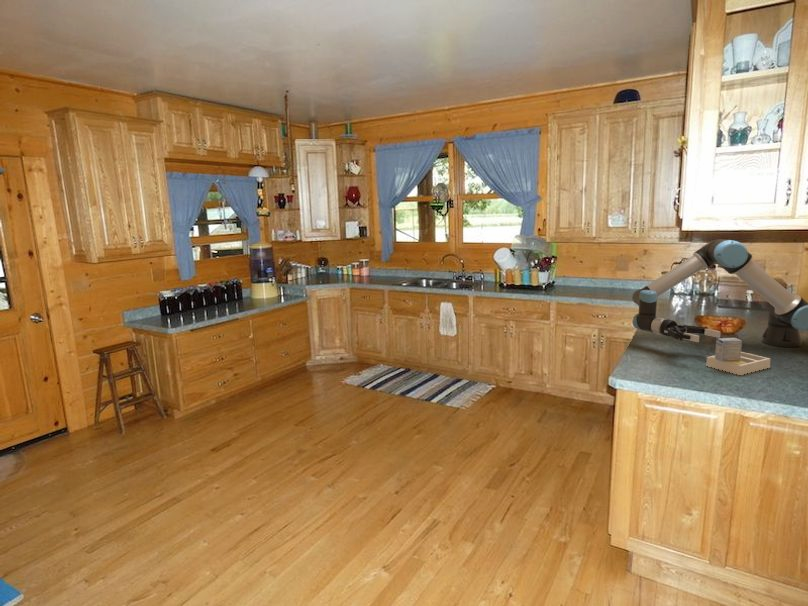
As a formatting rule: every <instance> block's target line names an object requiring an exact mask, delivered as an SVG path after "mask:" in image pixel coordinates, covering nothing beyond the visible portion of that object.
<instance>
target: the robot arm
mask: <svg viewBox="0 0 808 606" xmlns="http://www.w3.org/2000/svg"><path fill="white" fill-rule="evenodd" d="M715 265H718V266H720V267H721V268H722V269H723V270H725V272H727V273H728V274H730V275H736V276H737V277H738V278H739V279H740V280H742V282H744V283H745V284H746V285H747V286H749V287H750V288H751V289H752V290H753V291H755V292H756V293H757V294H758V295H759V296H761V298H763V299H764V300H765V301H766V302H767V303H769V306H768V307H769V310H768V319H767V320H768V321H767V327H766V328H765V330H764V332H763V334H762V336H761V342H762V343H764V344H766V345H770V346H776V347H781V348H782V347H783V348H798V347H801V346H802V338H801V334H800V331H804V332H805V331H806V332H807V331H808V301H807V300H805V299H804V298H803V297H802V296H800V295H799V294H793V293H791V292H790V291H789V290H787V288H785V287H784V286H783V285H782V284H780V282H778V281H777V280H776V279H775V278H774V277H772V276H771V275H770V274H769V273H767V272H766V270H764V269H763V268H762V267H760V266H759V265H758V264H757V263H756V262H755V261H754V260H753V255H752V254H751V252H749V250H748V248H747V247H746V246H745V245H744V244H743V243H741V242H740V241H737V240H731V239H724V238H718V239H714V240H711V241H710V242H708V243H707V244H704V245H703V246H702V247H700V248H699V249H698V250H696V251H694V252H693V254H692V256H691V257H689V258H687V259H685V261H683V262H681V263H680V264H678V265H676V266H675V267H673V268H672V269H670V270H669V271H667V272H666V273H664V274H663V275H661V276H660V277H658V278H656V279H655V280H654V281H651V282H650V283H648V284H647V285H645V286H644V287H641V288H637V289H635V290H634V291H632V294H631V299H632V301H633V302H634V304H635V305H637V306H638V313H636V314H635V315H634V316H633V319H632V325H633V327H634V328H635V329H637V330H641V331H645V332H650V333H654V334H657V336H660V335H662V336H667V337H671V338H673V339H674V340H679V341H680V342H681V341H683V340H685V341H686V340H687V341H691V342H694V343H700V335H697V334H701V335H705V336H709V337H712V338H713V337H714V338H716V339H720V338H721V332H722V331H719V330H715V329H710V328H709V327H708V326H697V325H688V324H683V325H682V324H678V323H677V322H676V321H675V320H671V319H667V318H662V317H658V316H657V305H658V304H657V302H658V298H659V297H660V296H661V295H663V294H665V293H666V292H668V291H669V290H671V289H672V288H674V287H676V286H677V285H679V284H681V283H682V282H683V281H685V280H688V279H689V278H691V277H692V276H694V275H695V274H697V273H698V272H700V271H701V270H703V269H708V268H710V267H713V266H715ZM797 346H798V347H797Z"/></svg>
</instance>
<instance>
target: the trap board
mask: <svg viewBox="0 0 808 606" xmlns="http://www.w3.org/2000/svg"><path fill="white" fill-rule="evenodd" d="M705 366H706V367H707V366H708V368H711V367H712V368H711V369H714V368H715V370H718V369H719V370H718V371H722V370H723V371H722V372H725V371H726V372H725V373H729V372H730V373H729V374H732V373H733V374H732V375H736V374H737V376H739V375H741V376H744V374H745V375H748V374H752V373H755V371H756V372H760V371H762V370H763V369H764V370H766V369H767V368H768V369H770V368H771V367H770V366H771V358H769V357H765V356H761V355H757V354H754V353H747V352H743V351H741V358H740V360H737V361H719V360H717V359H715V354H714V355H711V356H707V357H706V365H705ZM759 370H760V371H759ZM751 372H752V373H751ZM747 373H748V374H747Z"/></svg>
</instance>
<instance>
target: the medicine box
mask: <svg viewBox="0 0 808 606" xmlns="http://www.w3.org/2000/svg"><path fill="white" fill-rule="evenodd" d="M715 340H716V341H715V350H714V351H715V352H714V353H715V354H714V355H715V359H717V360H719V361H737V360H740V358H741V352H742V348H743V347H742V345H743V340H741V339H739V338H737V337H722V338H721V337H720V338H716V339H715Z"/></svg>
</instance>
